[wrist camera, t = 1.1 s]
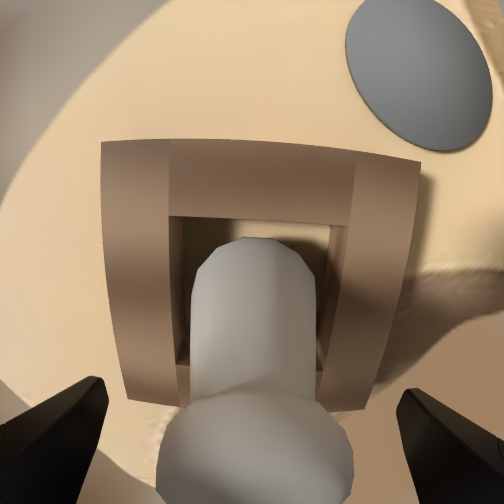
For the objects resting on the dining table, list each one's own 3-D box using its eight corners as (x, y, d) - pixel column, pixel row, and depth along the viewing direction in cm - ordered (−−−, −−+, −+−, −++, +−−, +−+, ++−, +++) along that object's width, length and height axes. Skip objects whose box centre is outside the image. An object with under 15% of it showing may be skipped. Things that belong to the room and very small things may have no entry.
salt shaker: (314, 230, 16) (455, 423, 4) (301, 327, 18) (353, 544, 5) (200, 223, 16) (67, 414, 3) (199, 321, 18) (141, 539, 5)
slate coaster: (485, 164, 15) (491, 165, 14) (342, 133, 14) (346, 132, 14) (479, 26, 12) (484, 24, 11) (342, -24, 12) (345, -28, 11)
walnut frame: (352, 379, 19) (364, 409, 16) (141, 369, 19) (128, 398, 16) (393, 160, 15) (421, 162, 12) (126, 143, 15) (101, 141, 12)
